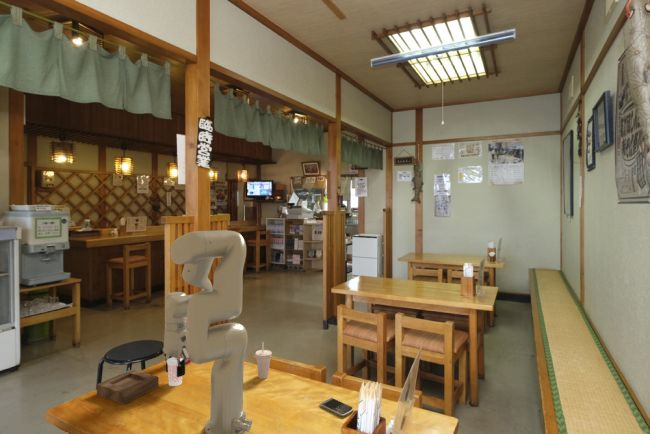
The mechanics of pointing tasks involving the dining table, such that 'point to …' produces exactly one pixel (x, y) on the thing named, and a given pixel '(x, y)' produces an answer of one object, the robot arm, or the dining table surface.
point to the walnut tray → (127, 386)
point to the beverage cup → (173, 372)
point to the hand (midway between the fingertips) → (175, 372)
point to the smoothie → (263, 362)
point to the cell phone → (337, 407)
